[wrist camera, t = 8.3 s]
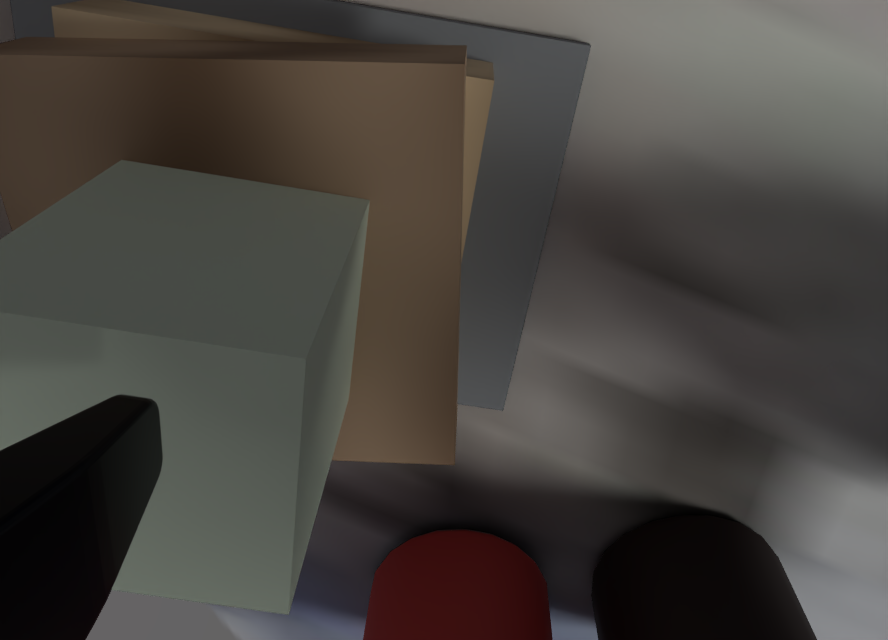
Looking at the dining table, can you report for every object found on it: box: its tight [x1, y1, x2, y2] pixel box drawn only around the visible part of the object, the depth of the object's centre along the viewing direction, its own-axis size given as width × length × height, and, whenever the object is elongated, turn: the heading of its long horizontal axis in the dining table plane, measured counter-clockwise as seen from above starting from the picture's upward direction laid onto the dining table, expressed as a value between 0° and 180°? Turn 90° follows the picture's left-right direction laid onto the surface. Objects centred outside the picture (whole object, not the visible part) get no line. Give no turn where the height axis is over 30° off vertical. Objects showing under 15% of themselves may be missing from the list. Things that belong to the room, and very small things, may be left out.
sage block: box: [0, 160, 370, 615], centre depth 13 cm, size 5×5×6 cm
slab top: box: [0, 37, 467, 465], centre depth 16 cm, size 10×10×2 cm
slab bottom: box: [51, 0, 494, 262], centre depth 18 cm, size 10×10×2 cm
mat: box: [10, 0, 591, 411], centre depth 20 cm, size 14×11×1 cm
